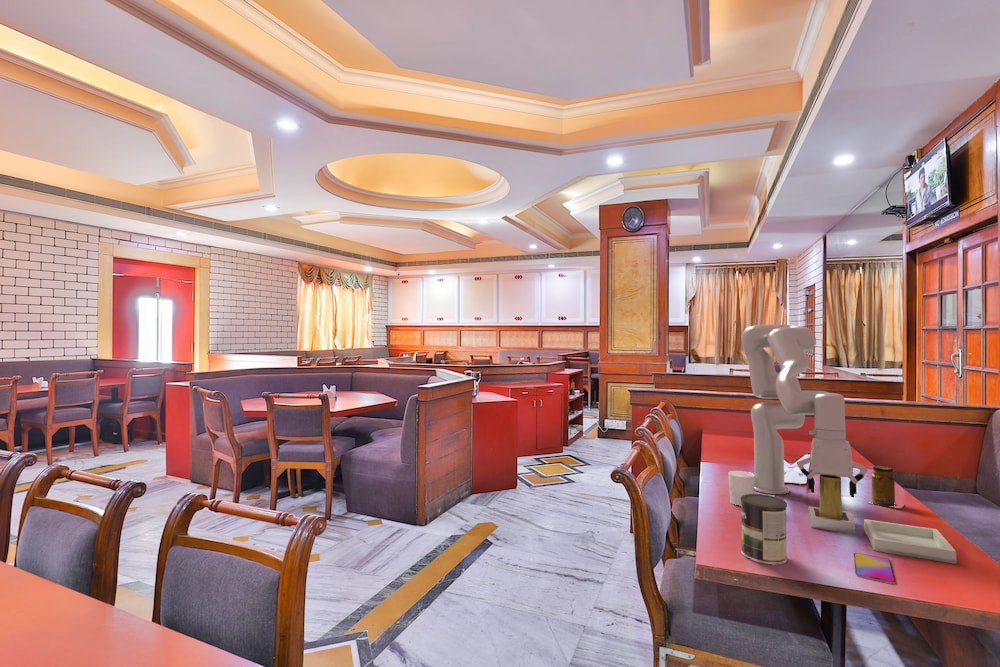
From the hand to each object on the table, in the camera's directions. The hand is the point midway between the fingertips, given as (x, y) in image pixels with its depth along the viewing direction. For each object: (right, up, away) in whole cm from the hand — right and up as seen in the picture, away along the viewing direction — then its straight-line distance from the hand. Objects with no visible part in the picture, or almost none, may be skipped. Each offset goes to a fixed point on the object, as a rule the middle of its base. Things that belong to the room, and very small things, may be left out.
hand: (831, 493), depth 145 cm
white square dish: (0, -9, +1) cm, 9 cm away
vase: (0, -9, +1) cm, 9 cm away
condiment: (+30, -10, +18) cm, 37 cm away
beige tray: (+10, -9, -14) cm, 20 cm away
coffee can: (-31, -9, -20) cm, 38 cm away
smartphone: (-8, -10, -27) cm, 30 cm away
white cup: (-17, -10, +19) cm, 27 cm away
